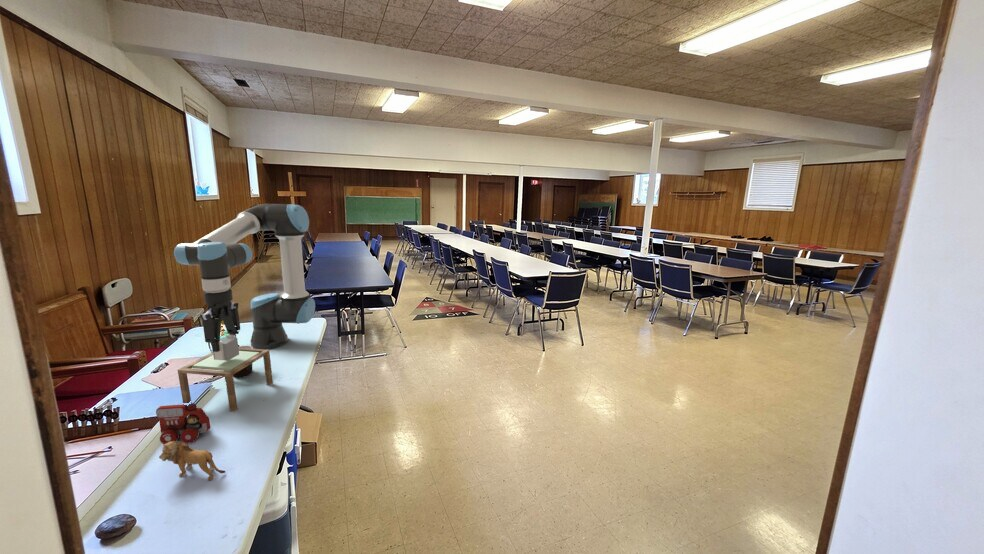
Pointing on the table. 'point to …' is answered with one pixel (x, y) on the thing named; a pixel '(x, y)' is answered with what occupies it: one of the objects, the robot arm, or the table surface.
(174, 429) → the toy fire truck
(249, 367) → the coffee mug
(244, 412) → the table surface
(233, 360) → the hatch
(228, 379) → the frame
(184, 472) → the lion figurine
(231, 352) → the cube
